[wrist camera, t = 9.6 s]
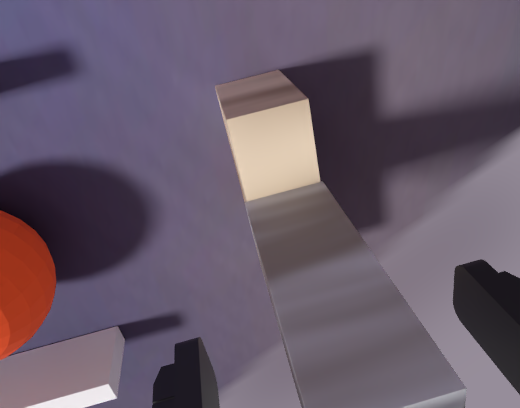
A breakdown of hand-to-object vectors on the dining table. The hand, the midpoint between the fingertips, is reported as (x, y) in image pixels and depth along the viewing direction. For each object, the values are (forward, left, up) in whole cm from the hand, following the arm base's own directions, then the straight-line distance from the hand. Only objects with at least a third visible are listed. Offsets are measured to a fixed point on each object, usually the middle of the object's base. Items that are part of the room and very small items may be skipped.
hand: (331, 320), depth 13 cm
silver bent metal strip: (0, 0, -10) cm, 10 cm away
